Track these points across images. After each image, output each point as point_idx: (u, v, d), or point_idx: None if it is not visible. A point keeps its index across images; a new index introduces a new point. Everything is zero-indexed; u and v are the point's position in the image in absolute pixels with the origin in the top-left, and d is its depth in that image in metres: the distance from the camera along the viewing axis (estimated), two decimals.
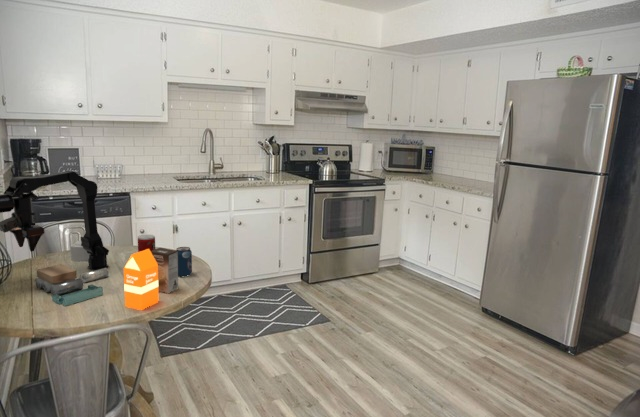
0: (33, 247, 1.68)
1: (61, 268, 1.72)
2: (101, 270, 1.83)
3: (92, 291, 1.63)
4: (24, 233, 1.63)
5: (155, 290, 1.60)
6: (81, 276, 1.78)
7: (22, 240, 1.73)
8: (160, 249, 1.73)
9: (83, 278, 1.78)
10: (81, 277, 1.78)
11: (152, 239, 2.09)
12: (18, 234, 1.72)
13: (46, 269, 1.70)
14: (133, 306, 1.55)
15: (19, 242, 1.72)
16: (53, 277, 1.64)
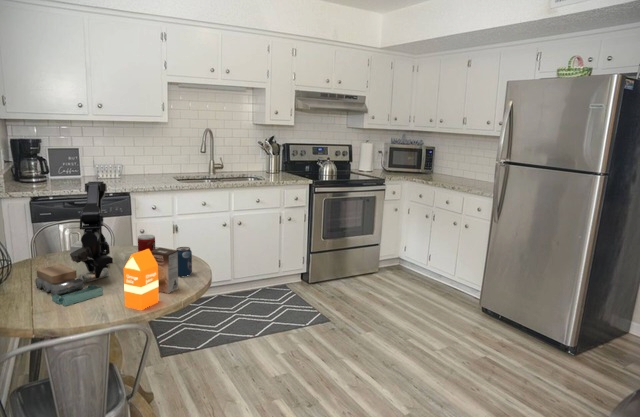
0: (98, 274, 1.80)
1: (61, 268, 1.72)
2: None
3: (92, 291, 1.63)
4: (95, 263, 1.74)
5: (155, 290, 1.60)
6: (81, 276, 1.78)
7: (93, 269, 1.83)
8: (160, 249, 1.73)
9: (83, 278, 1.78)
10: (81, 277, 1.78)
11: (152, 239, 2.09)
12: (89, 264, 1.82)
13: (46, 269, 1.70)
14: (133, 306, 1.55)
15: None
16: (53, 277, 1.64)
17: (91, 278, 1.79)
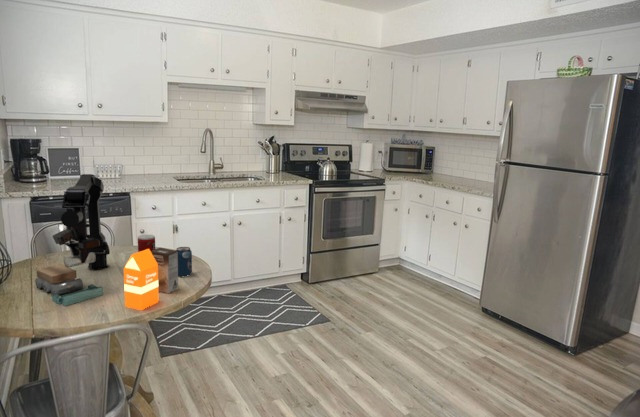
0: (84, 259, 1.65)
1: (61, 268, 1.72)
2: None
3: (92, 291, 1.63)
4: (80, 245, 1.59)
5: (155, 290, 1.60)
6: (65, 260, 1.62)
7: (78, 254, 1.68)
8: (160, 249, 1.73)
9: (67, 262, 1.62)
10: (65, 261, 1.62)
11: (152, 239, 2.09)
12: (74, 248, 1.66)
13: (46, 269, 1.70)
14: (133, 306, 1.55)
15: None
16: (53, 277, 1.64)
17: (76, 262, 1.63)
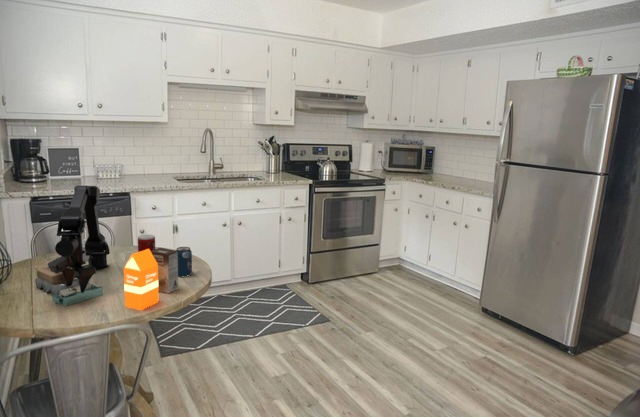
0: (84, 287, 1.60)
1: None
2: None
3: (92, 291, 1.63)
4: (76, 274, 1.55)
5: (155, 290, 1.60)
6: (60, 294, 1.60)
7: (71, 279, 1.66)
8: (160, 249, 1.73)
9: (62, 295, 1.60)
10: (60, 295, 1.60)
11: (152, 239, 2.09)
12: (67, 273, 1.65)
13: (46, 269, 1.70)
14: (133, 306, 1.55)
15: (68, 281, 1.65)
16: (53, 277, 1.64)
17: (71, 294, 1.61)
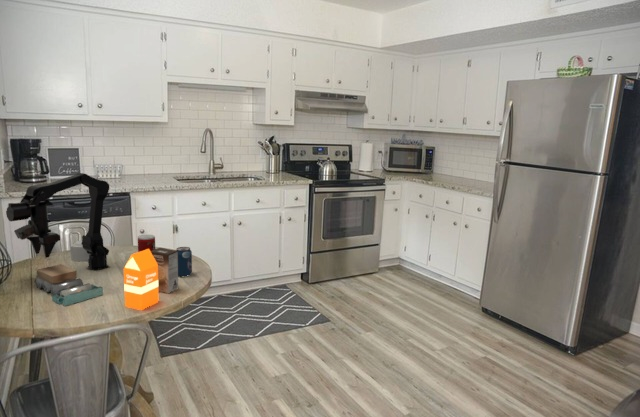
0: (48, 253, 1.73)
1: (61, 268, 1.72)
2: (84, 286, 1.65)
3: (92, 291, 1.63)
4: (41, 240, 1.67)
5: (155, 290, 1.60)
6: (61, 293, 1.60)
7: (38, 247, 1.77)
8: (160, 249, 1.73)
9: (63, 296, 1.59)
10: (61, 295, 1.60)
11: (152, 239, 2.09)
12: (34, 241, 1.76)
13: (46, 269, 1.70)
14: (133, 306, 1.55)
15: (35, 249, 1.77)
16: (53, 277, 1.64)
17: None
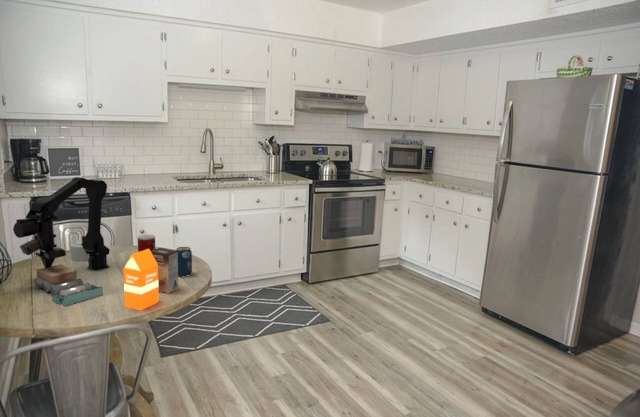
0: (49, 266, 1.74)
1: (61, 268, 1.72)
2: (82, 285, 1.65)
3: (92, 291, 1.63)
4: (46, 256, 1.66)
5: (155, 290, 1.60)
6: (60, 294, 1.60)
7: None
8: (160, 249, 1.73)
9: (62, 295, 1.60)
10: (60, 295, 1.60)
11: (152, 239, 2.09)
12: None
13: (46, 269, 1.70)
14: (133, 306, 1.55)
15: None
16: (53, 277, 1.64)
17: None
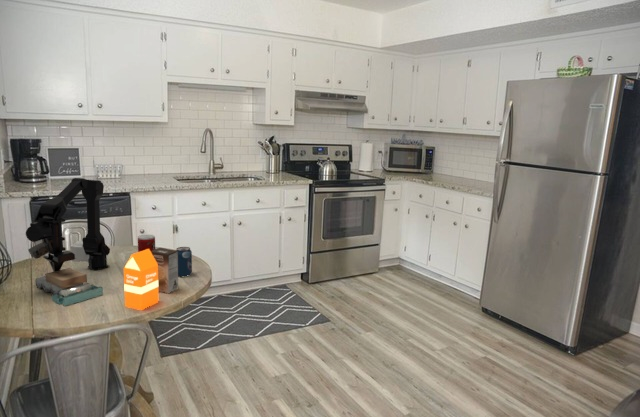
0: (58, 270, 1.70)
1: (71, 272, 1.68)
2: (83, 285, 1.65)
3: (92, 291, 1.63)
4: (55, 259, 1.63)
5: (155, 290, 1.60)
6: (60, 293, 1.60)
7: None
8: (160, 249, 1.73)
9: (62, 295, 1.59)
10: (60, 295, 1.60)
11: (152, 239, 2.09)
12: None
13: (55, 273, 1.66)
14: (133, 306, 1.55)
15: None
16: (63, 281, 1.60)
17: None
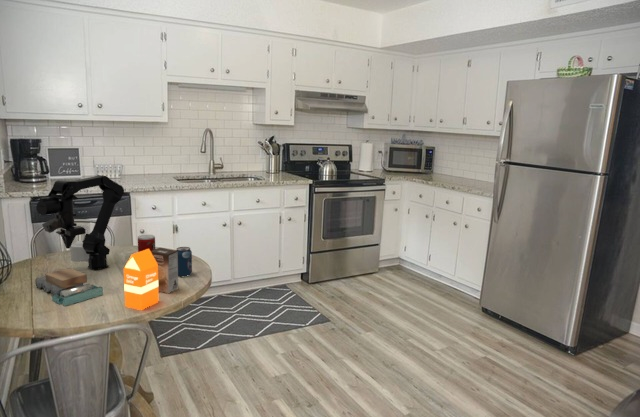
0: (69, 244, 1.81)
1: (71, 272, 1.68)
2: (84, 287, 1.65)
3: (92, 291, 1.63)
4: (68, 233, 1.73)
5: (155, 290, 1.60)
6: (61, 293, 1.60)
7: None
8: (160, 249, 1.73)
9: (63, 296, 1.59)
10: (61, 294, 1.60)
11: (152, 239, 2.09)
12: None
13: (55, 273, 1.66)
14: (133, 306, 1.55)
15: None
16: (63, 281, 1.60)
17: None
